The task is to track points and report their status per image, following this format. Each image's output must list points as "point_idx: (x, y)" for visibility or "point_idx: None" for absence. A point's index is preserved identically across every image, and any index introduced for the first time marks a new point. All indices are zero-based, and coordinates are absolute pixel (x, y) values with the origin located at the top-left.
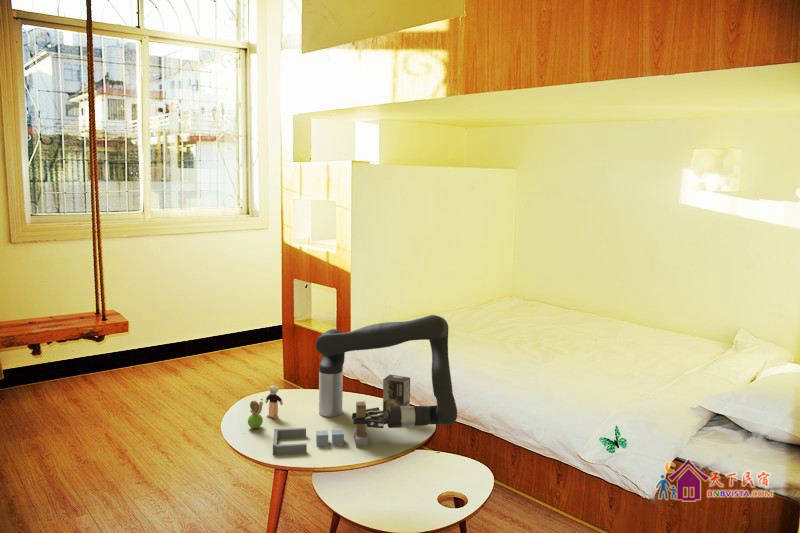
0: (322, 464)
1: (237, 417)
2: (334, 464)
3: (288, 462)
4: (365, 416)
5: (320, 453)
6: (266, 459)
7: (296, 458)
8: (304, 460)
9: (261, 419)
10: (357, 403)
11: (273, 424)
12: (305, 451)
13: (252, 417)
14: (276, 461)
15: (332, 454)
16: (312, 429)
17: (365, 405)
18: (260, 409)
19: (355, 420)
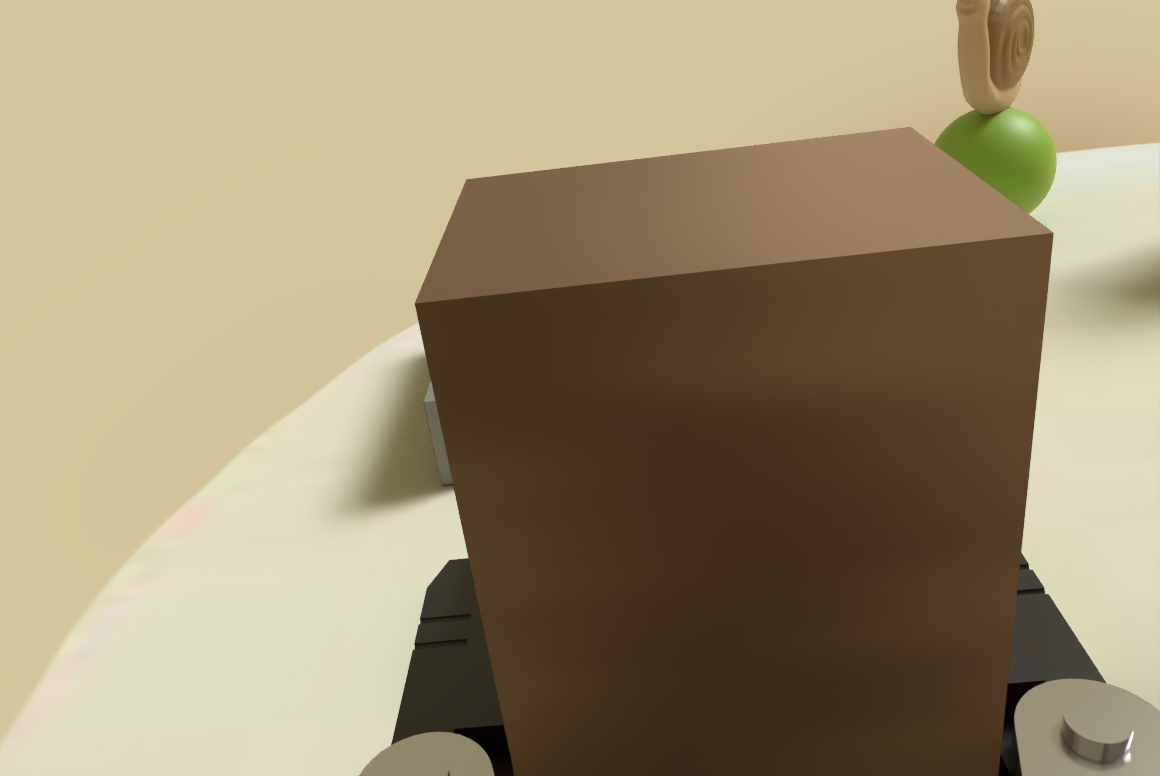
0: (107, 613)
1: (1147, 158)
2: (19, 719)
3: (305, 415)
4: (510, 742)
5: (396, 579)
6: (415, 330)
7: (358, 443)
8: (288, 488)
9: (984, 163)
10: (717, 158)
11: (1107, 266)
12: (439, 461)
13: (951, 123)
14: (358, 367)
15: (317, 686)
16: (1116, 465)
17: (430, 295)
18: (962, 63)
19: (447, 568)
